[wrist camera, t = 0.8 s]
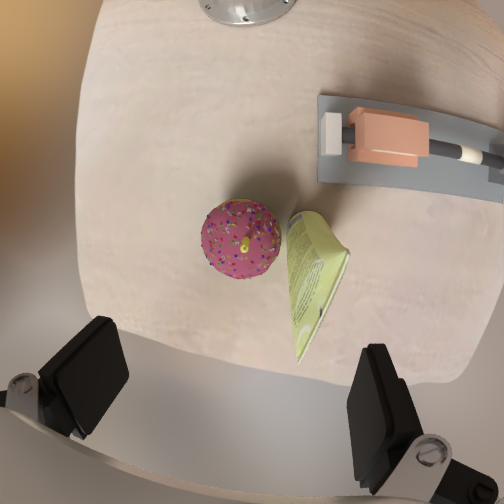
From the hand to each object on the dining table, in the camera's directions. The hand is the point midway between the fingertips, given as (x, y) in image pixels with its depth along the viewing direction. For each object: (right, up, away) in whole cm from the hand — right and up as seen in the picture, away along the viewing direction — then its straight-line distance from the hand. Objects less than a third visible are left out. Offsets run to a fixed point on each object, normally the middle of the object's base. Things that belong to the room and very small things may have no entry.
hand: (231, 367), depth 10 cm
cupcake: (0, +7, +25) cm, 26 cm away
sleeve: (+14, +16, +17) cm, 27 cm away
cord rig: (+22, +16, +19) cm, 33 cm away
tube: (+7, +6, +24) cm, 26 cm away
